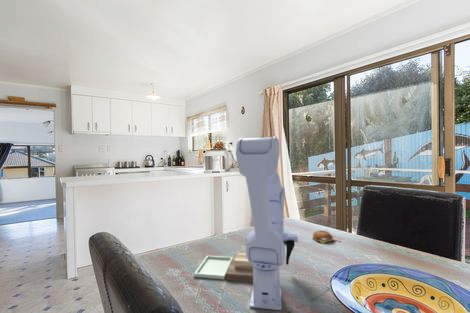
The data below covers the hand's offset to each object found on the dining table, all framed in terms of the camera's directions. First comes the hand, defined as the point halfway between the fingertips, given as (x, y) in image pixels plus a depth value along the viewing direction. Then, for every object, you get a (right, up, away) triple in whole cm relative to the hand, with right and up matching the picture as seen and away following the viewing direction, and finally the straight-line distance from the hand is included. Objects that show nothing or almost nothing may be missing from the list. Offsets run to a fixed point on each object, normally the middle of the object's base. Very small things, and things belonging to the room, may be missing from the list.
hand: (275, 262), depth 79 cm
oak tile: (-10, -2, +2) cm, 10 cm away
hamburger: (+28, -3, +29) cm, 41 cm away
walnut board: (-10, -4, +2) cm, 11 cm away
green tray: (-20, -4, +4) cm, 21 cm away
